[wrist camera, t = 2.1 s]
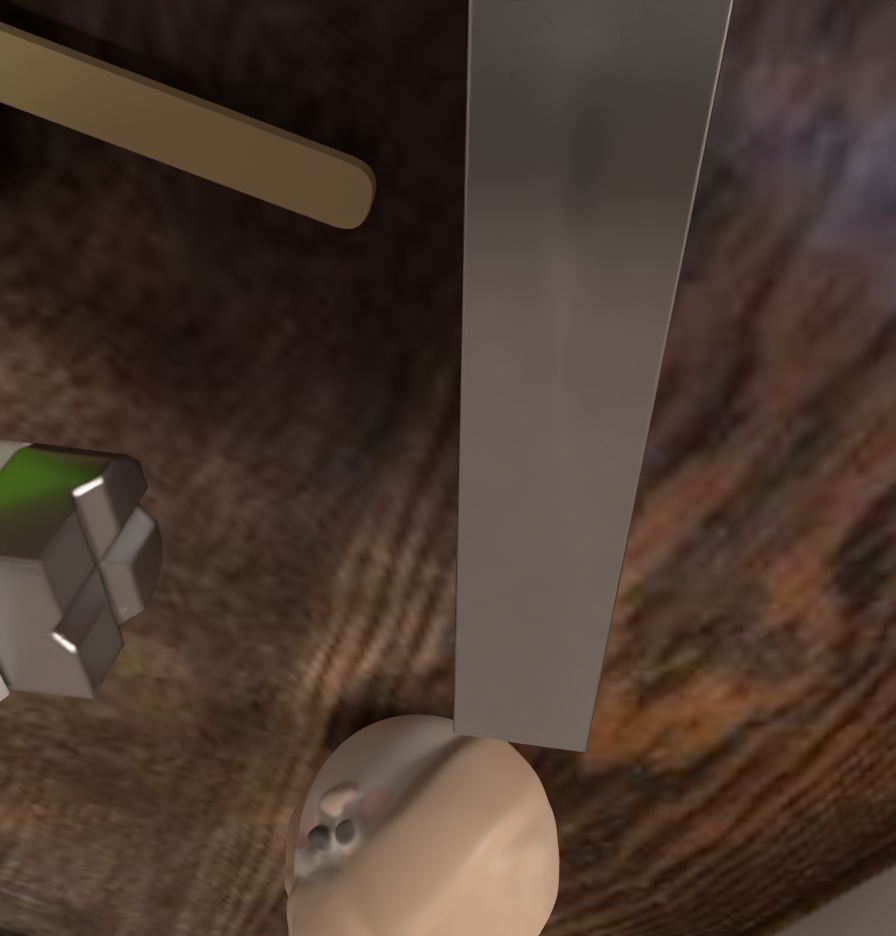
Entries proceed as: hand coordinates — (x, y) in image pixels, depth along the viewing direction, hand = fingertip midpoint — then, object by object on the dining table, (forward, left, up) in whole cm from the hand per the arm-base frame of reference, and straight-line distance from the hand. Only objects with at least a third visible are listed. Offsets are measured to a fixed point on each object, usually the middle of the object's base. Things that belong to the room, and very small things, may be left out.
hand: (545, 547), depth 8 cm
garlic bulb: (+14, -2, -7) cm, 15 cm away
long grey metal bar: (0, 0, -6) cm, 6 cm away
